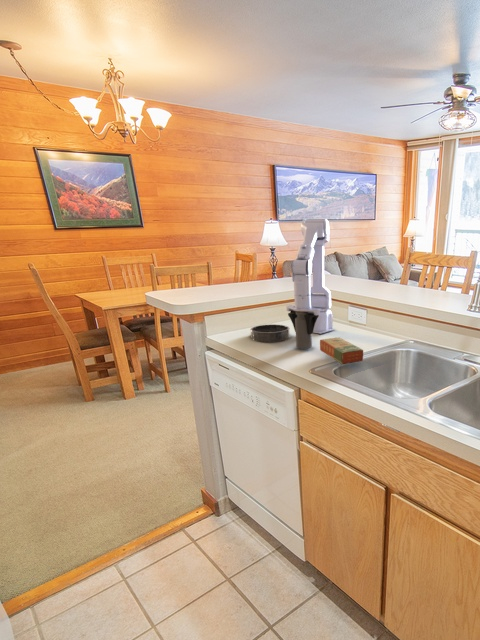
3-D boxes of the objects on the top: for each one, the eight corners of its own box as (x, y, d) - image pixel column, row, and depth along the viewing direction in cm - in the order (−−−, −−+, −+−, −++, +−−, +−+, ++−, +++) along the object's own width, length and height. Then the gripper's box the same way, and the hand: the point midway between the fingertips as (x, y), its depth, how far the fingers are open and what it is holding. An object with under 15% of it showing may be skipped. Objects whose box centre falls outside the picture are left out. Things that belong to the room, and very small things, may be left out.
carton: (339, 347, 149) (340, 336, 148) (363, 361, 137) (364, 349, 135) (319, 350, 145) (319, 339, 144) (342, 364, 133) (342, 352, 131)
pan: (271, 332, 176) (270, 322, 174) (297, 337, 167) (296, 327, 166) (243, 339, 165) (242, 329, 163) (269, 344, 156) (269, 334, 155)
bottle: (313, 344, 156) (311, 304, 149) (310, 349, 150) (309, 307, 144) (298, 344, 156) (296, 304, 150) (294, 348, 151) (292, 307, 145)
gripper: (279, 294, 147) (281, 331, 152) (310, 298, 139) (311, 337, 144) (293, 292, 152) (295, 328, 157) (323, 295, 144) (324, 333, 149)
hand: (303, 332), depth 151 cm, fingers closed on bottle, 6 cm apart
